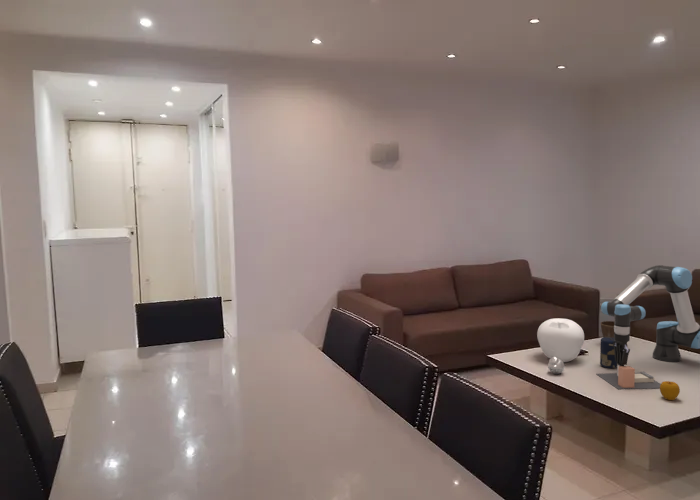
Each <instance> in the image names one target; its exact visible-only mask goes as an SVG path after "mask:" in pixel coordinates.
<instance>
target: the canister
mask: <svg viewBox="0 0 700 500" xmlns="http://www.w3.org/2000/svg"><path fill="white" fill-rule="evenodd" d="M613 343H616V341H615V340H614V338H610V337H604V338H603V337H602V338H601V339H600V350H599V353H600V356H599V364H600V366H601V367H603V368H607V369H617V368H618V364H617V361H615V353H614V346H613Z"/></svg>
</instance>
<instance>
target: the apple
mask: <svg viewBox="0 0 700 500" xmlns="http://www.w3.org/2000/svg"><path fill="white" fill-rule="evenodd" d="M660 384H661V385H660V389H659V391H660V394H661V396H662V397H663V399H665V400H667V401H674V400H675V401H676V399H677V398H678V396H679V395H680V392H681V390H680V386H679V384H678V383H677V382H674V381H669V380H668V381H667V380H666V381H665V380H664V381H662V382H661V383H660Z"/></svg>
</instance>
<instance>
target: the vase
mask: <svg viewBox="0 0 700 500" xmlns="http://www.w3.org/2000/svg"><path fill="white" fill-rule="evenodd" d="M536 335H537V341H538V344H539V346H540V349H541V351H542V352H543V354H544V356H546V357H547V358H549V359H551V358H552V357H557V358H558V359H560V360H562V361H563V363H568V362H570V361H572V360H575V359H576V358H577V357H578V355H579V353H580V352H581V350H582V347H583V345H584V342H585V333H584V330H583V328H582V326H580V325H579V324H578V323H577V322H575V321H574V320H572V319H568V318H558V317H557V318H550V319H547V320H545V321H544V322H542V323H541V324H540V325H539V327H538V329H537V332H536Z"/></svg>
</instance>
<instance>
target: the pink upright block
mask: <svg viewBox="0 0 700 500" xmlns="http://www.w3.org/2000/svg"><path fill="white" fill-rule="evenodd" d="M635 373H636V369H635V368H634V367H632V366H631V365H624V366H619V369H618V385H620V386H621V387H623V388H634V382H635Z"/></svg>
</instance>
